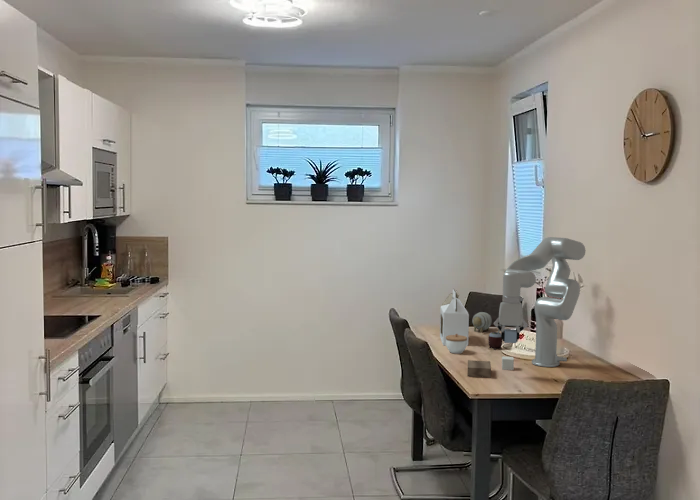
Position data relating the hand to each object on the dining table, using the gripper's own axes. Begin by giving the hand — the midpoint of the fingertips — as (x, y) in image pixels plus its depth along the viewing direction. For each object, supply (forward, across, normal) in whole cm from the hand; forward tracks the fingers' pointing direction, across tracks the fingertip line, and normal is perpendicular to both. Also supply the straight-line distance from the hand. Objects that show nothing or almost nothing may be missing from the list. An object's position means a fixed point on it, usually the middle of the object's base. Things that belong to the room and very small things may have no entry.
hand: (510, 340), depth 289 cm
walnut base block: (+16, +13, 0) cm, 20 cm away
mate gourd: (+16, +4, -51) cm, 54 cm away
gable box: (+16, +25, -63) cm, 70 cm away
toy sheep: (+15, +9, -95) cm, 96 cm away
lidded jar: (+16, +24, -38) cm, 48 cm away
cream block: (+16, 0, -11) cm, 19 cm away
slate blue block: (+1, 0, 0) cm, 1 cm away
